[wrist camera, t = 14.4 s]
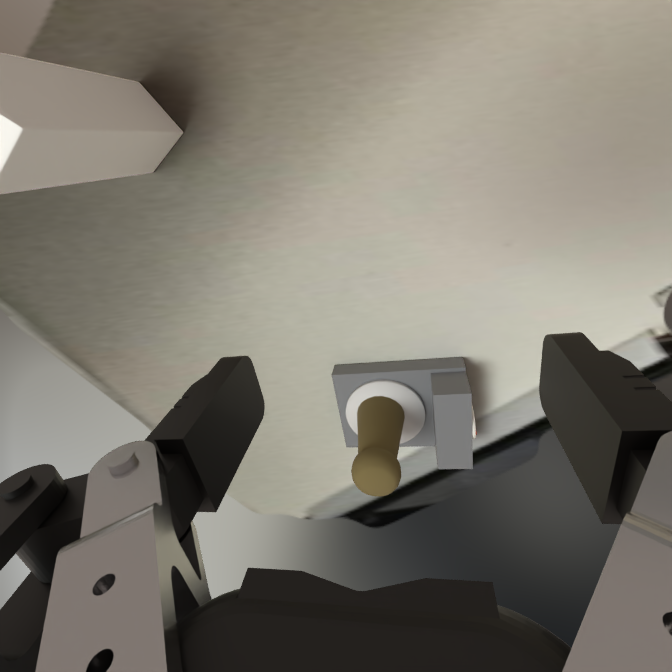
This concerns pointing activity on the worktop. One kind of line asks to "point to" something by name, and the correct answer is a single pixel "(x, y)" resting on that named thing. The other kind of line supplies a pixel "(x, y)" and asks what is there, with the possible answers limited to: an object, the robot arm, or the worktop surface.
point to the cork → (378, 446)
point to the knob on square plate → (415, 403)
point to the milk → (75, 126)
